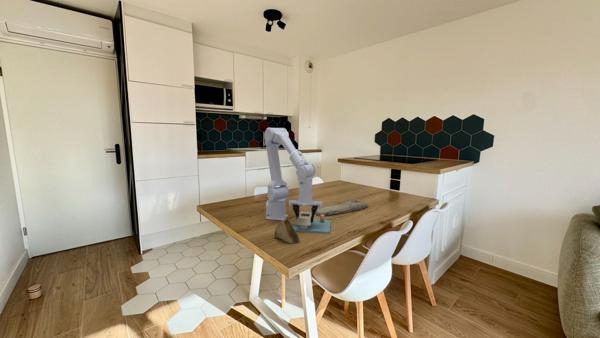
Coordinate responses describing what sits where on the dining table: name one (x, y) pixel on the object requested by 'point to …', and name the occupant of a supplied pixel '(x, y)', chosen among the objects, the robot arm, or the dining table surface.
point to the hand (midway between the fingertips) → (305, 221)
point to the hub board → (316, 227)
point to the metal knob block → (304, 227)
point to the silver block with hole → (304, 218)
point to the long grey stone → (342, 207)
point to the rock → (286, 232)
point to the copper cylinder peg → (321, 218)
